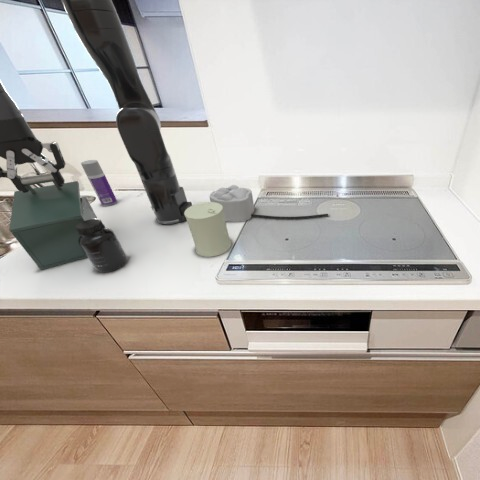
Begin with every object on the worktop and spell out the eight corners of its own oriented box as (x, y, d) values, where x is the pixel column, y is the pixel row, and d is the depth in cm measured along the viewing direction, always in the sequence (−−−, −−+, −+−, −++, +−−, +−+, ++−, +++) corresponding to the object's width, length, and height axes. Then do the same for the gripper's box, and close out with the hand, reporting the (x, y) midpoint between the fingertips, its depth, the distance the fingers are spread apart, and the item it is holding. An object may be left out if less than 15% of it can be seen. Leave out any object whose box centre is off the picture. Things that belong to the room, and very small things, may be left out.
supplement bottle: (108, 255, 69) (85, 215, 62) (134, 256, 69) (113, 216, 62) (88, 273, 63) (61, 231, 56) (116, 273, 63) (92, 231, 56)
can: (216, 260, 67) (205, 219, 61) (188, 252, 70) (174, 213, 63) (237, 241, 75) (229, 203, 68) (211, 235, 77) (201, 197, 70)
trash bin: (49, 242, 74) (25, 208, 68) (103, 228, 80) (85, 196, 74) (40, 270, 64) (11, 233, 58) (103, 252, 70) (82, 217, 64)
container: (120, 200, 96) (101, 159, 88) (110, 206, 92) (89, 164, 84) (108, 200, 96) (88, 159, 88) (98, 205, 93) (76, 164, 84)
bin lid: (16, 193, 66) (1, 176, 62) (78, 183, 72) (68, 166, 68) (11, 232, 58) (-7, 215, 54) (82, 217, 64) (70, 200, 60)
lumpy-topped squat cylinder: (249, 221, 84) (244, 196, 79) (208, 221, 84) (202, 196, 79) (256, 206, 92) (252, 183, 87) (219, 206, 92) (214, 183, 88)
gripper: (-59, 122, 51) (1, 201, 60) (39, 115, 57) (79, 187, 67) (-44, 116, 56) (9, 189, 65) (44, 110, 62) (81, 178, 72)
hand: (44, 188), depth 66 cm, fingers closed on bin lid, 6 cm apart
